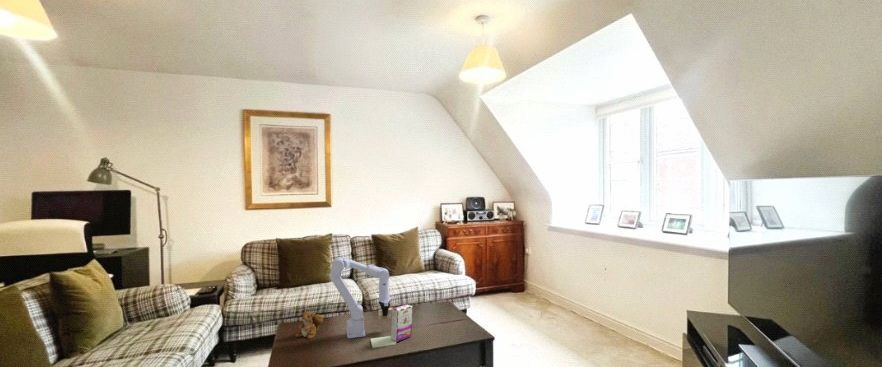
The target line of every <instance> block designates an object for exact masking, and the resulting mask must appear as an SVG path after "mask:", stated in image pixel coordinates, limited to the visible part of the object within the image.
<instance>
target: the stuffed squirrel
mask: <svg viewBox="0 0 882 367" xmlns="http://www.w3.org/2000/svg"><path fill="white" fill-rule="evenodd" d="M323 318H324V316H322V315H321V314H315V312H313V313H312V312H310V311H307V310H305V311H304V313H303V316H302V317H301V318H300V319H299V321H302V323H300V324H299V325H298V329H299V330H300V331H299V332H297V333H296V334H295V338H298V337H299V338H300V337H306V338H307V339H309V340H310V339H312V338H315V336H316V334H317V332H318V331H319V330H320V326H321V324H322V323H323V322H324V320H323Z"/></svg>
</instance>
